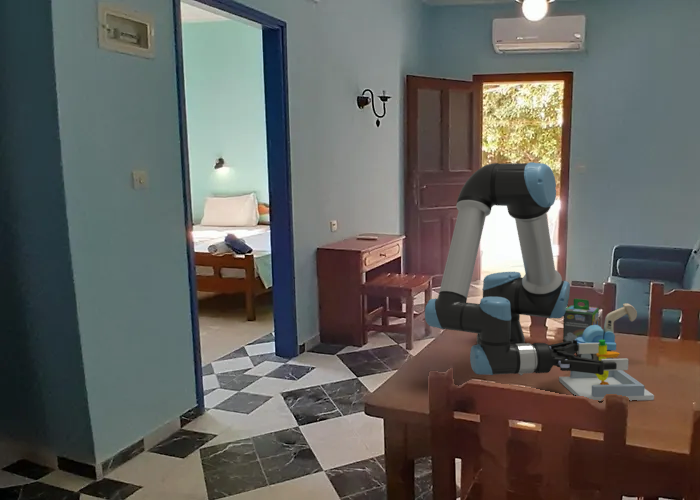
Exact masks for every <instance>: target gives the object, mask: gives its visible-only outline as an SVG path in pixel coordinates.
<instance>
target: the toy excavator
mask: <svg viewBox="0 0 700 500" xmlns="http://www.w3.org/2000/svg"><path fill="white" fill-rule="evenodd" d="M622 306H623V307H622ZM622 306H621V307H620V308H618V309H616V310H613V311H611V312H609V313H607V314H606V315H605V319H604V324H603V325H604V326H603V327H601V325H591V326H589V327H587V328H586V329H585V330H584V332H583V335H582V337H578V338H577V339H575V340H577V345H578V343H599V340H605V343H607V351H617V343H616V340H615V339H616V334H615V332H614V327H615V326H614V324H615V321H617V320H619V319H620V318H622V317H624V316H626V315H627V316H628V320H629V322H634V321H635V320H636V319H637V317H638V312H637V309H636V308H635V307H634V306H633V305H631V304H630V303H622ZM575 356H576V357H582V358H588V359H593V360H599V357H597V355H596V354H578V351H577V353H575ZM606 359H614V358H606Z"/></svg>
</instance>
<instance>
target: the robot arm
mask: <svg viewBox="0 0 700 500" xmlns="http://www.w3.org/2000/svg"><path fill="white" fill-rule="evenodd" d="M556 187H557V183H556V178H555V174H554V171H553V169H552V168H551V166H549V165H548V164H546V163H543V162H542V163H540V162H533V161H532V162H531V161H530V162H526V163H524V162H523V163H521V162H520V163H518V162H517V163H510V162H509V163H507V162H506V163H499V162H494V163H488V164H485V165H484V166H482V167H480V168H478V169H477V170H476V171H475V172H474V173H473V174H472V175H470V177H469V178H468V179H467V180H466V181H465V183H464V185H463V186H462V187H461V190H460V192H459V194H458V197H457V200H456V205H455V207H456V209H457V211H458V212H457V217H456V220H455V221H456V222H455V223H454V229H453V232H452V237H451V242H450V246H449V249H448V255H447V259H446V263H445V267H444V272H443V275H442V280H441V284H440V287H439V292H438V296H437V298H430V299H429V300H428V301H427V304H426V305H425V308H424V320H425V323H426V324H427V325H428V326H429V327H433V328H435V329H441V330H448V331H449V330H450V331H459V332H465V333H470V334H471V333H473V334H476V344H473V345H471V347H470V352H469V355H470V356H469V361H470V367H471V369H472V371H473V372H474V374H476V375H490V376H494V375H497V376H498V375H512V374H513V375H515V374H519V376H523V374H533V373H535V374H548V373H550V372H551V370H552V368H553V367H558V368H559V369H560V370H559V371H561V372H564V371H565V372H570V371H576V372H585V373H594V374H599V375H603V374H604V371H613V370H623V371H629V358H613V359H601V361H599V360H593V359H588V358H582V357H578V356H577V355H576V353H577V351H578V354H597V353H598V346H599V345H598V344H599V343H578V345H577V340H573V343H572V341H566V342H563V341H562V342H557V343H553V344H548V343H547V342H533V343H530V342H527V343H526V342H525V341H526V338H525V337H526V336H525V334H524V332H523V331H524V330H523V328H522V325H521V322H520V316H521V315H523V316H529V317H537V318H544V319H561V318H563V317H564V314H565V312H566V309H567V308H568V305H569V299H570V293H571V292H570V290H571V284H570V282H568V281H567V280H563V278H562V275H561V273H560V272H559V271H558V270H556V267H555V266H556V265H555V261H554V255H553V253H554V252H553V247H552V242H551V235H550V228H549V221H548V216H547V213H548V212H549V211H550V210H551V207H552V206H553V205H554V204H555V201H556V199H557V189H556ZM493 206H498V207H499V206H500V207H501V206H502V207H503V206H506V209H507V212H508V214H509V216H510V217H511V218H513V219H514V220H515V225H516V226H515V227H516V231H517V235H518V242H519V246H520V247H519V248H520V251H521V258H522V261H523V268H524V272H525V275H523V276H522V274H521V272H519V271H501V272H495V273H491V274H490V273H489V274H487V275H485V277H484V278H483V283H482V285H483V286H482V298H481V299H480V302H479V303H472V302H467V301H468V295H469V291H470V287H471V281H472V277H473V274H474V270H475V265H476V260H477V256H478V251H479V247H480V243H481V239H482V234H483V229H484V226H485V222H486V218H487V217H488V216H489V215H490V214H491V212H492V208H493Z"/></svg>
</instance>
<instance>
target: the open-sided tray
mask: <svg viewBox="0 0 700 500" xmlns="http://www.w3.org/2000/svg"><path fill="white" fill-rule="evenodd" d="M569 372H570V373H569V374H570V375H569V376H559V377H558V381H559V383H560V384H561V385H562V386H563V387H565V388H566V389H567V390H568V391H569V392H570V393H571V394H572V395H573V394H574V395H573V396H575V395H577V396H584V397H587V398H589V399H593V400H599V401H601V400H602V399H603V398H604V396H605V395H606V394H617V395H622V396H626V397H628V398H629V400H630V401H632V400H637V401H654V400H655V395H654V394H653V393H652V392H650V391H649V390H648V389H646V388H645V385H644V384H643V383H641V382H640V381H638V380H637V379H636V378H634V377H633V376H631V375H630V374H628V373H627V372H625V370H613V371H609V375H608V377H607V379H606V380H604V382H608V384H609V385H600V383H601V380H599V379H598V377H597V376H596V374H594V373H585V372H576V371H569ZM632 402H633V401H632Z"/></svg>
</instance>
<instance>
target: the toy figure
mask: <svg viewBox="0 0 700 500" xmlns="http://www.w3.org/2000/svg"><path fill="white" fill-rule="evenodd" d="M598 345H599V346H598V353H597V354H596V355H597V357H599V361H601V359H606V358H613V359H618V357H619V356H620V354H621V353H620V352H618V351H614V350H611V351H607V343H605V340H599V344H598ZM608 375H609V371H604V374H603V375H599V374H596V376H597V377H598V379H599V380H601V383H600V385H609V384H608V382H604V380H606V379H607V377H608Z"/></svg>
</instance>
